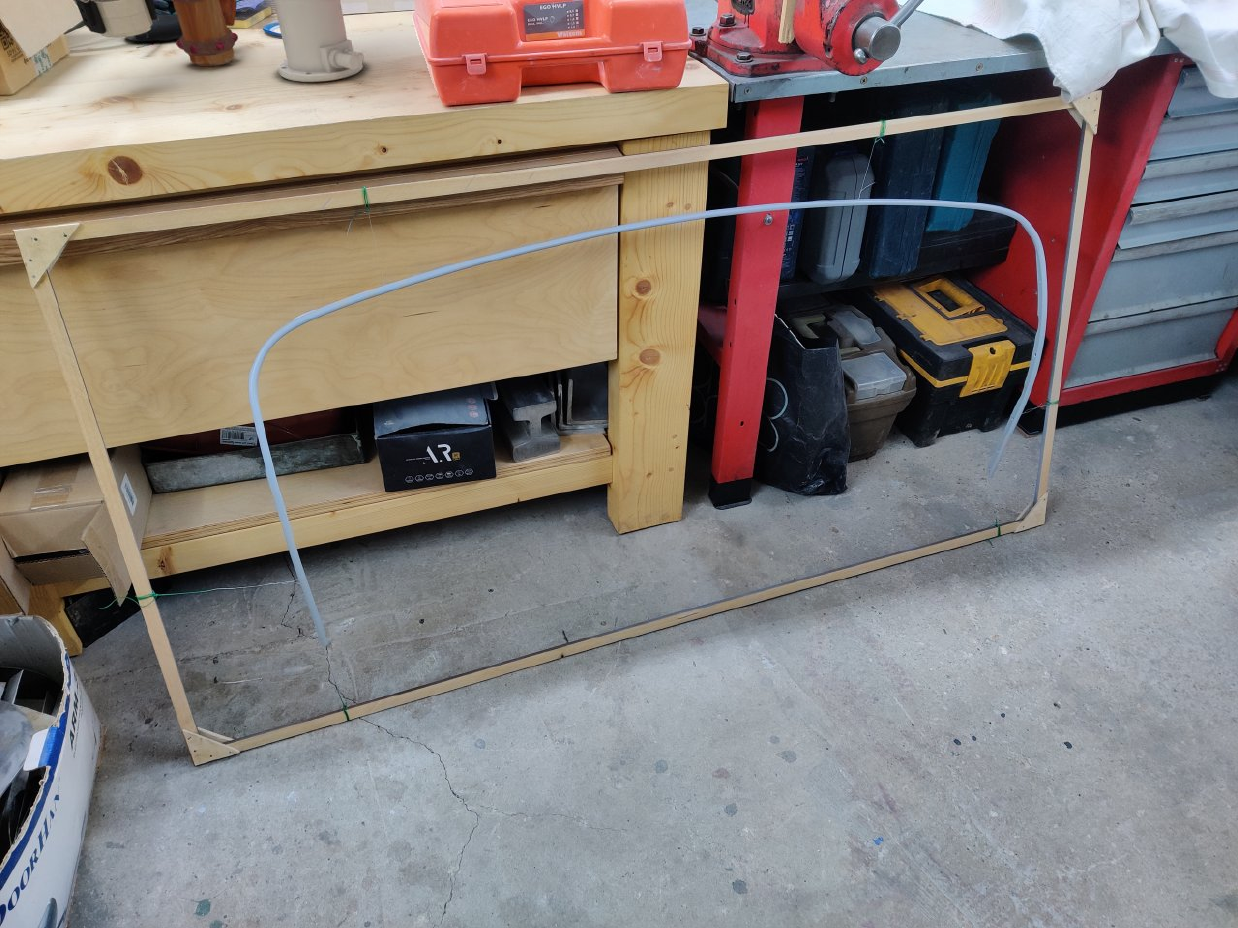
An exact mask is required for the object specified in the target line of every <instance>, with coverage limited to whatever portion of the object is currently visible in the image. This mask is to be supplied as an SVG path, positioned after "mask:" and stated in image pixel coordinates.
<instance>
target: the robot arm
mask: <svg viewBox="0 0 1238 928" xmlns="http://www.w3.org/2000/svg"><path fill="white" fill-rule="evenodd" d="M74 1H75V3H76V5H77V8H78V10H79V14H80V16H81V18H82V22H83V24H84V25H85V26H86V28H87V29H88V31H89V32H91V33H96V34H99V35H101V34H103V33H105V32H106V28H105V26H104V23H103V20H102V18H101V15H100V12H99V10H98V7H97V4H96V3H95V2H94V1H91V0H74ZM145 3H146V6H147V9H148V11H149V14H150V17H151V20H156V19H157V16H156V15H157V13H156V10H157V9H156V6H155V3H154V0H145ZM273 4H274V8H275V14H276V16H277V22H278V26H279V30H280V35H281V40H282V44H283V49H284V53H285V56H286V59H284V60H283V61H281V62H280V63H279V65H278V67H277V68H278V73H279V75H280V76H281V77H282V78H284V79H286V80H290V81H294V82H300V83H301V82H305V83H318V82H319V83H320V82H329V81H336V80H340V79H346V78H349V77H351V76H354V75H356V74H358V73H360V71H361V70H362V69H363V62H364V61H365V55H364V53H362V52H360V51H354V46H353V41H352V39H348V35H347V30H346V23H345V19H344V15H343V8H342V3H341V0H273Z"/></svg>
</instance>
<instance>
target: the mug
mask: <svg viewBox="0 0 1238 928" xmlns="http://www.w3.org/2000/svg"><path fill="white" fill-rule="evenodd" d="M170 1H171V2H172V3H173V7H174V10H175V13H176V15H177V16H178V20H179V23H180V27H181V30H182V34H183V35H182V36H181V38H178V39H176V41H175V45H176V47H178V49H180V50H182V51H183V52H185V53H186V54H187V55H188V56H189V60H190V62H191V63H192V64H193V65H196V66H199V67H218V66H223V65H226V64H228V63H230V62H231V61H232V60H233V59H234V58H235V49H234V46H235V45H236V42H237V41H238V40H239V36H238V34H237V33H236V32H233V31H232V29H231V28H229V27H234V26H235V22H236V16H237V15H236V13H237V0H170Z"/></svg>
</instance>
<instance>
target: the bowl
mask: <svg viewBox="0 0 1238 928" xmlns="http://www.w3.org/2000/svg"><path fill="white" fill-rule="evenodd" d="M91 1H94V2H95V3H96V4H97V7H98V10H99V12H100V15H101V18H102V20H103V23H104V26H105V28H106V32H105V33H103V34H100V35H101V36H102V37H105V38H113V39H114V38H115V39H116V38H125V37H128V36H134V35H139V34H142V33H145V32H147V31H149V30H150V29H151V25H152V24H153V23H152V20H151V17H150V14H149V11H148V9H147V6H146V3H145V0H91Z"/></svg>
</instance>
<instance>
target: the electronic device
mask: <svg viewBox="0 0 1238 928" xmlns="http://www.w3.org/2000/svg"><path fill="white" fill-rule="evenodd" d="M156 16H157V19H156V20H152V23H153V24H152V25H151V29H150V30H149V31H147V32H145V33H142V34H139V35H134V36H128V37H124V38H125V39H127V40H129V41H132V42H133V41H134V42H155V41H163V42H166V41H167V42H168V41H172V40H178V39H180V38H181V36H182V35H183V34H182V30H181V27H180V23H179V20H178V16H177V14H156Z"/></svg>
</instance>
